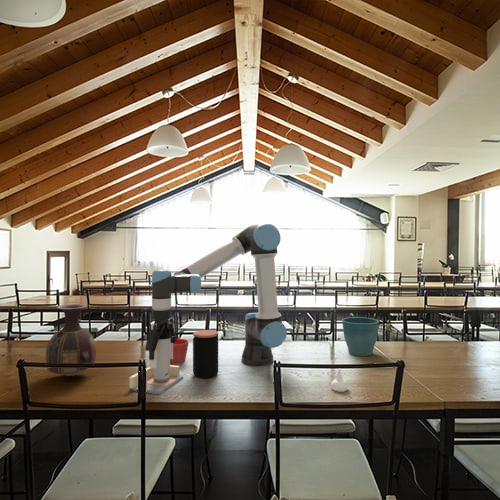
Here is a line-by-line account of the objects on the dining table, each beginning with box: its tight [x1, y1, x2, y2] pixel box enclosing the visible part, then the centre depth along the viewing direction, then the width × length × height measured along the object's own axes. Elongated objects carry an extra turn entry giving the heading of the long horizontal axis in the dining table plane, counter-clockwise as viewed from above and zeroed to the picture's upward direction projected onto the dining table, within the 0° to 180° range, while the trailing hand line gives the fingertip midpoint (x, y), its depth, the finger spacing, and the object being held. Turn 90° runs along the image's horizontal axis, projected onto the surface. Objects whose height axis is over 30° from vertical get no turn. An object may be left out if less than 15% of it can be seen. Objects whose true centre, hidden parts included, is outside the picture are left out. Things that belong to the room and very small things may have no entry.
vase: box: [44, 303, 97, 377], centre depth 159 cm, size 23×19×30 cm
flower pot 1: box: [170, 338, 190, 365], centre depth 180 cm, size 11×11×10 cm
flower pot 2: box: [341, 316, 380, 357], centre depth 195 cm, size 18×18×17 cm
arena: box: [129, 364, 184, 395], centre depth 151 cm, size 13×18×5 cm
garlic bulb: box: [330, 368, 349, 393], centre depth 145 cm, size 6×6×8 cm
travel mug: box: [154, 329, 172, 382], centre depth 152 cm, size 6×7×20 cm
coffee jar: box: [192, 329, 219, 380], centre depth 162 cm, size 11×11×18 cm
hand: (161, 363), depth 152 cm, fingers open, 12 cm apart
